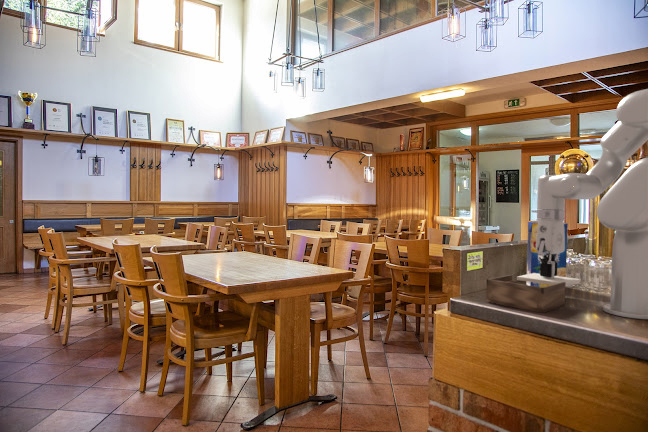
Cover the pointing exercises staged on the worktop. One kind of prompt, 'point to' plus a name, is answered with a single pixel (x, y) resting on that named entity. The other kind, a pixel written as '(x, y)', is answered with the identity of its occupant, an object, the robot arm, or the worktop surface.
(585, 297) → the worktop surface
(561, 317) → the worktop surface
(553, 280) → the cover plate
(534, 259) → the beverage box
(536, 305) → the walnut box
